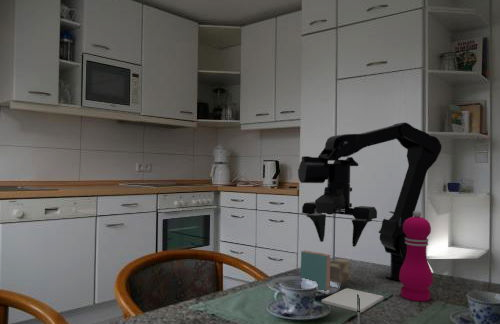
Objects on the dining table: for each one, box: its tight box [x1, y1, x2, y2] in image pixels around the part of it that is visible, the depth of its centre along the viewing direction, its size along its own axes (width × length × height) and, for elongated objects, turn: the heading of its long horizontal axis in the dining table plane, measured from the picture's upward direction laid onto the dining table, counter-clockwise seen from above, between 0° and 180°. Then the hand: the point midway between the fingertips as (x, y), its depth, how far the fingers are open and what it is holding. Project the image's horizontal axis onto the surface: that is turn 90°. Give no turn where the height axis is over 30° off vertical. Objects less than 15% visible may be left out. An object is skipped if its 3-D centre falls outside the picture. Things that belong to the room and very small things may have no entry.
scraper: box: [330, 258, 351, 287], centre depth 106 cm, size 10×7×5 cm
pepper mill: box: [399, 209, 434, 302], centre depth 95 cm, size 7×7×20 cm
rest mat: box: [321, 287, 384, 313], centre depth 91 cm, size 12×9×1 cm
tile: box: [300, 249, 331, 291], centre depth 98 cm, size 2×7×9 cm, turn 51°
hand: (337, 243), depth 106 cm, fingers open, 9 cm apart
